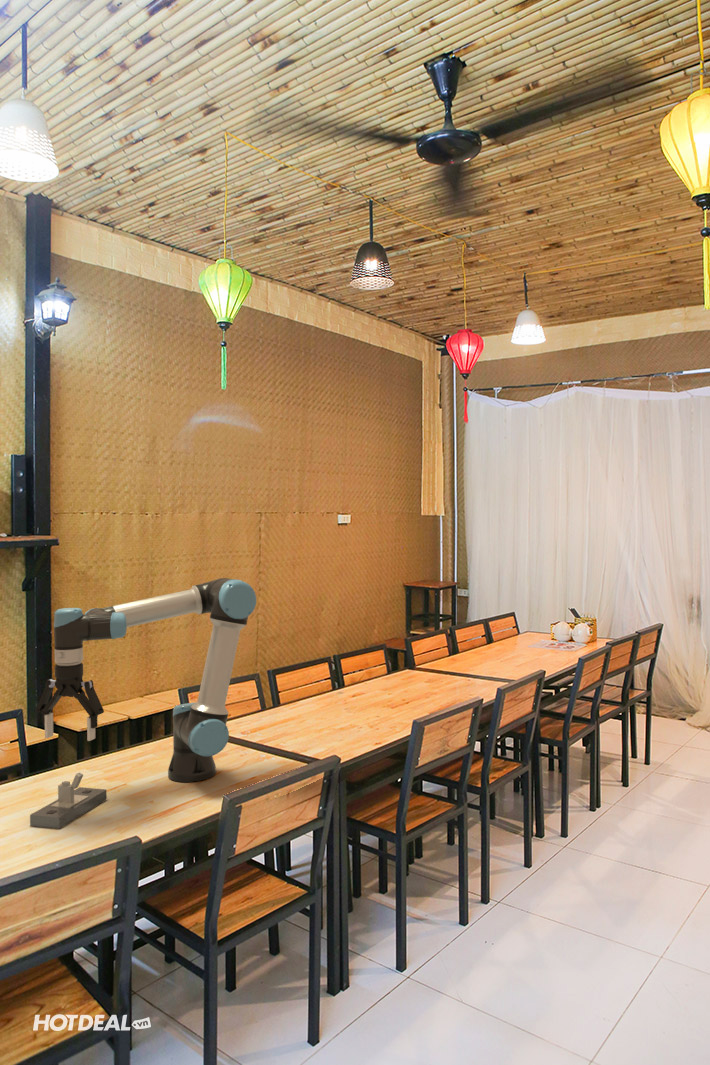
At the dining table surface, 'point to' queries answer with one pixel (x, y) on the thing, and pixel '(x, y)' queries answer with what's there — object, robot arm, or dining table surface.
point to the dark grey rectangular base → (68, 808)
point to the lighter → (68, 789)
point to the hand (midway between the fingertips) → (70, 738)
